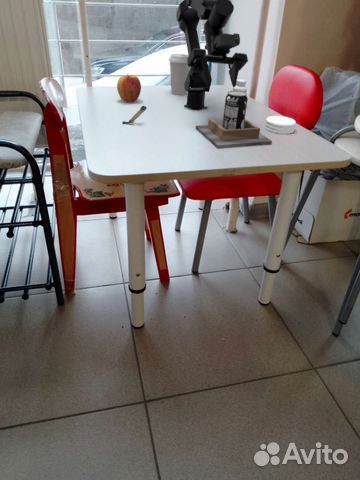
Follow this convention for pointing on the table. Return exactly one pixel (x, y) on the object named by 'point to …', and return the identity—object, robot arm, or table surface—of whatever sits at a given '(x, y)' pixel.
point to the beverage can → (235, 110)
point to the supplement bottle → (240, 85)
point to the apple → (129, 88)
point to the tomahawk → (135, 116)
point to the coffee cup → (178, 73)
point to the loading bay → (233, 135)
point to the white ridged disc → (280, 124)
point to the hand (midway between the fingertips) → (221, 85)
